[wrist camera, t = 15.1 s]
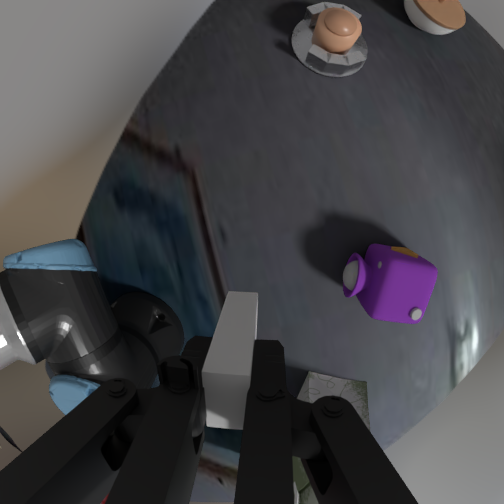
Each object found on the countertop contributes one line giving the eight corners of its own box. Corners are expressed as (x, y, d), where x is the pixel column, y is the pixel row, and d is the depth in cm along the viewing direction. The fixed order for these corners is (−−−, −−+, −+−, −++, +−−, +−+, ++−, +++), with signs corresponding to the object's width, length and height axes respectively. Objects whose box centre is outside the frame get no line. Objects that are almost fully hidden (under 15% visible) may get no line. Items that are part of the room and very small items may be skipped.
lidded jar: (453, 43, 32) (480, 27, 23) (410, 42, 33) (435, 21, 24) (429, -2, 30) (451, -22, 21) (385, -5, 31) (403, -30, 22)
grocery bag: (301, 466, 59) (305, 540, 36) (249, 457, 58) (242, 535, 36) (368, 382, 50) (403, 473, 28) (306, 367, 50) (322, 472, 27)
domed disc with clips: (291, 73, 37) (294, 61, 32) (291, 12, 34) (293, -3, 29) (368, 83, 36) (379, 73, 32) (363, 22, 33) (372, 9, 29)
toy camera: (337, 238, 43) (355, 256, 34) (415, 239, 42) (446, 256, 33) (333, 303, 46) (346, 335, 36) (406, 300, 45) (431, 327, 36)
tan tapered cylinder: (311, 56, 36) (319, 36, 28) (310, 26, 34) (317, 2, 27) (350, 61, 35) (364, 43, 28) (348, 31, 34) (360, 9, 26)
